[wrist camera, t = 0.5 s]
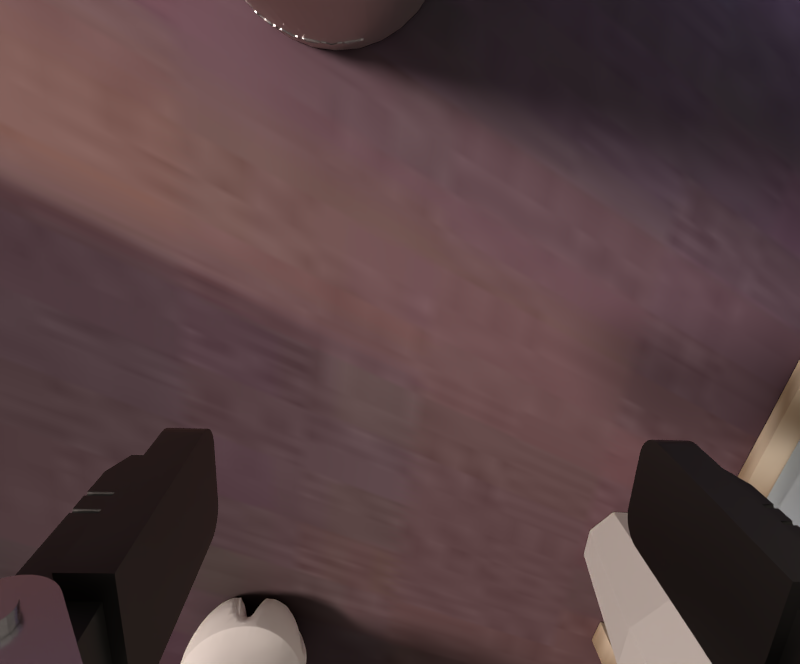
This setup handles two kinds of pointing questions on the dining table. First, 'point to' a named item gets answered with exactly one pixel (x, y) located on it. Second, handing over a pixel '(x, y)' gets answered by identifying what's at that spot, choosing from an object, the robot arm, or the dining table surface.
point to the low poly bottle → (635, 601)
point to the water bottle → (247, 636)
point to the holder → (788, 488)
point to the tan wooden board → (752, 468)
